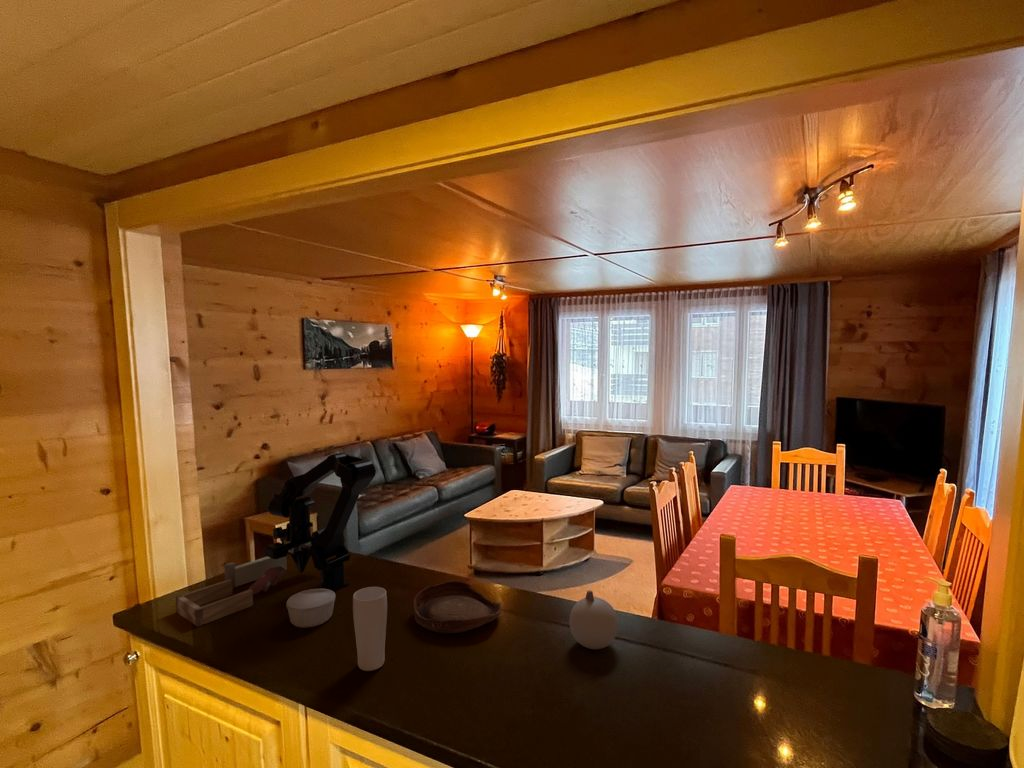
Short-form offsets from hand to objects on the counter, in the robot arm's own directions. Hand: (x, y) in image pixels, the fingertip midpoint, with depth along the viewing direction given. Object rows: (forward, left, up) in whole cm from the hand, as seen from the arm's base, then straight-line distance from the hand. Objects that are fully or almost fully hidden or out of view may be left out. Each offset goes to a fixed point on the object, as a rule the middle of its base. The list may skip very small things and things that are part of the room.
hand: (301, 572), depth 150 cm
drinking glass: (-53, +16, -2) cm, 55 cm away
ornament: (-87, -17, -2) cm, 89 cm away
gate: (+9, +9, -1) cm, 12 cm away
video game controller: (+1, +10, -2) cm, 10 cm away
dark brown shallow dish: (-54, -9, -2) cm, 55 cm away
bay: (0, +23, -2) cm, 23 cm away
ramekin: (-25, +12, -2) cm, 28 cm away
